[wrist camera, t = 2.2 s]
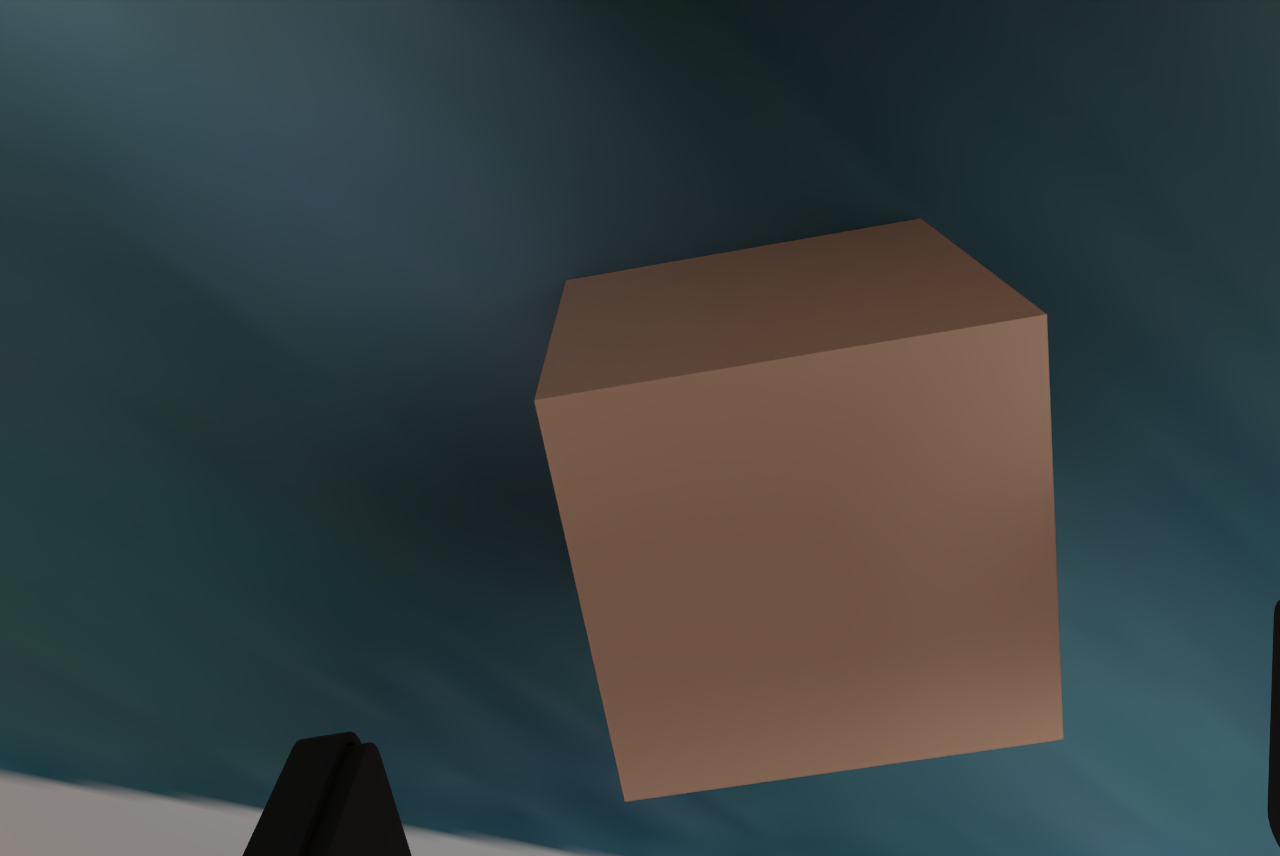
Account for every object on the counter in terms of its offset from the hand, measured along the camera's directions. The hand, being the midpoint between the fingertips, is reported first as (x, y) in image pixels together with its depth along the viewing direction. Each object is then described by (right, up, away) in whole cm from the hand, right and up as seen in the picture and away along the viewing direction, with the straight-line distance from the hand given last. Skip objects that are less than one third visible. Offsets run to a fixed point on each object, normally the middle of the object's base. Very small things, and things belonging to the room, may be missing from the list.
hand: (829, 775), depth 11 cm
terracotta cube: (0, +4, +8) cm, 9 cm away
